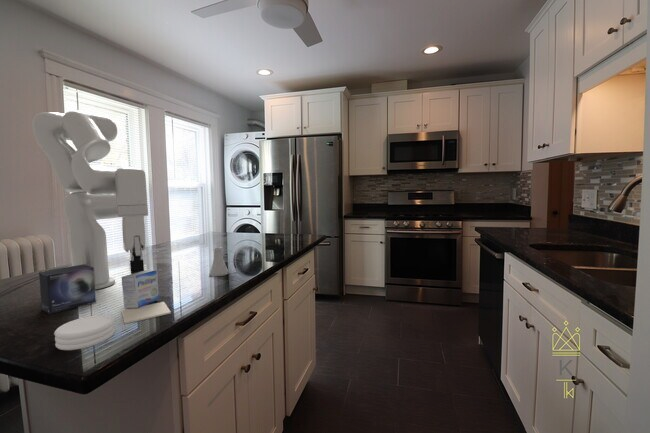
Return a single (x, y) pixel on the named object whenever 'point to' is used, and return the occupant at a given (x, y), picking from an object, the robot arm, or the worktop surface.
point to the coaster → (84, 332)
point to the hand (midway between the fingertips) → (137, 273)
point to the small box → (67, 288)
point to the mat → (145, 312)
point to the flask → (218, 264)
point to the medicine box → (140, 288)
